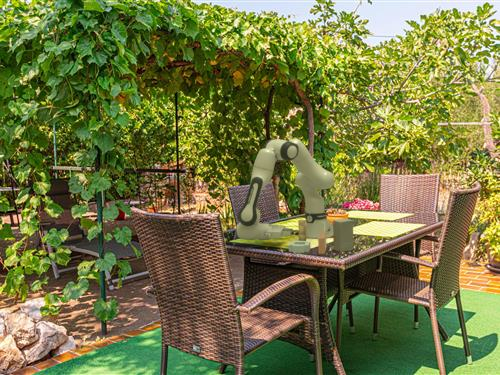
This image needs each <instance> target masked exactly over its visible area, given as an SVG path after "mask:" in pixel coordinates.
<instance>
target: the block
mask: <svg viewBox="0 0 500 375" xmlns="http://www.w3.org/2000/svg"><path fill="white" fill-rule="evenodd" d="M310 251H311V241H307V240H306V241H299V240H293V241H292V240H291V241H290V242H289V244H288V252H289V253H294V254H305V253H310Z"/></svg>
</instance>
